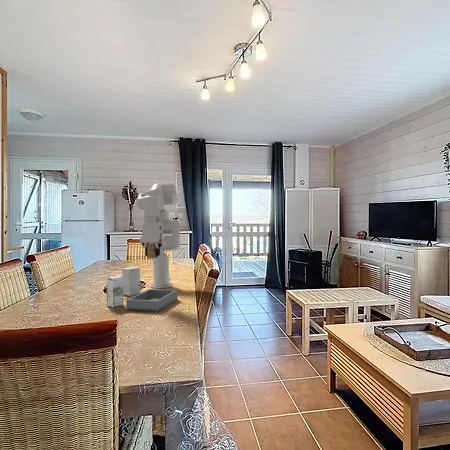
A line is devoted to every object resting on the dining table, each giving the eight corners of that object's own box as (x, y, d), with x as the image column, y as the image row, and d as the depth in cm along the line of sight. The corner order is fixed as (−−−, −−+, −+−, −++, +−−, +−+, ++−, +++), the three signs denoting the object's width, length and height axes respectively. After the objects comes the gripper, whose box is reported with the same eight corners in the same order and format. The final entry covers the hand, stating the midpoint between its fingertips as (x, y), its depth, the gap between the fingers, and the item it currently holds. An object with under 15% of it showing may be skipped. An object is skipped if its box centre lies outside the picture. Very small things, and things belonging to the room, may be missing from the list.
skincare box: (130, 296, 176) (129, 269, 176) (122, 295, 179) (121, 268, 179) (141, 292, 183) (140, 267, 183) (133, 291, 186) (132, 266, 186)
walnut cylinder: (150, 256, 166) (150, 243, 166) (159, 257, 165) (158, 243, 165) (145, 258, 161) (145, 244, 161) (154, 258, 160) (154, 244, 160)
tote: (149, 298, 170) (149, 289, 170) (177, 299, 166) (177, 290, 166) (126, 310, 149) (126, 299, 149) (157, 312, 145) (157, 301, 145)
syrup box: (117, 303, 162) (116, 274, 161) (124, 305, 158) (123, 276, 158) (106, 306, 157) (106, 276, 157) (113, 308, 154) (112, 277, 153)
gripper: (170, 219, 164) (171, 255, 164) (140, 220, 169) (141, 254, 169) (163, 220, 157) (164, 257, 157) (132, 220, 162) (133, 256, 162)
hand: (152, 255), depth 163 cm, fingers closed on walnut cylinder, 4 cm apart
